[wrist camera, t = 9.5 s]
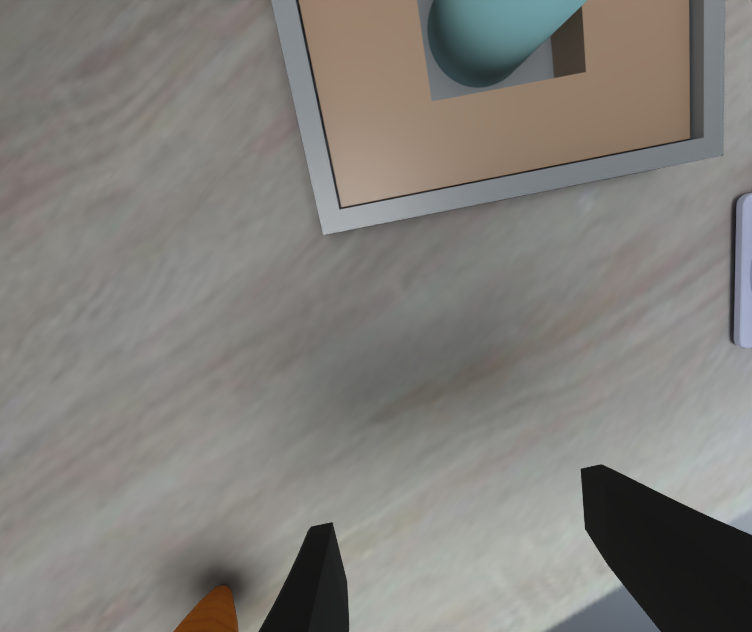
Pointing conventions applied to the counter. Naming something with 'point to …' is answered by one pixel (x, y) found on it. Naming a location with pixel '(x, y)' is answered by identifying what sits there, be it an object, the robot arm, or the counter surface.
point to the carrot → (212, 613)
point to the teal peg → (491, 35)
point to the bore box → (495, 105)
